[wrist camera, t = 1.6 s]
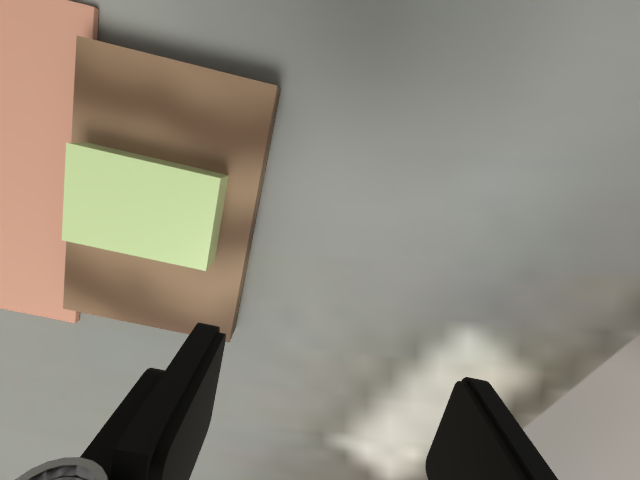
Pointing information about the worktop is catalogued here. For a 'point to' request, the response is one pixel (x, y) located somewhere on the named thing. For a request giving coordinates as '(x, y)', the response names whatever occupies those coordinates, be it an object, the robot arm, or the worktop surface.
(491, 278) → the worktop surface
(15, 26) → the mat
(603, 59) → the worktop surface
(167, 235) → the sponge
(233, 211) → the plate
